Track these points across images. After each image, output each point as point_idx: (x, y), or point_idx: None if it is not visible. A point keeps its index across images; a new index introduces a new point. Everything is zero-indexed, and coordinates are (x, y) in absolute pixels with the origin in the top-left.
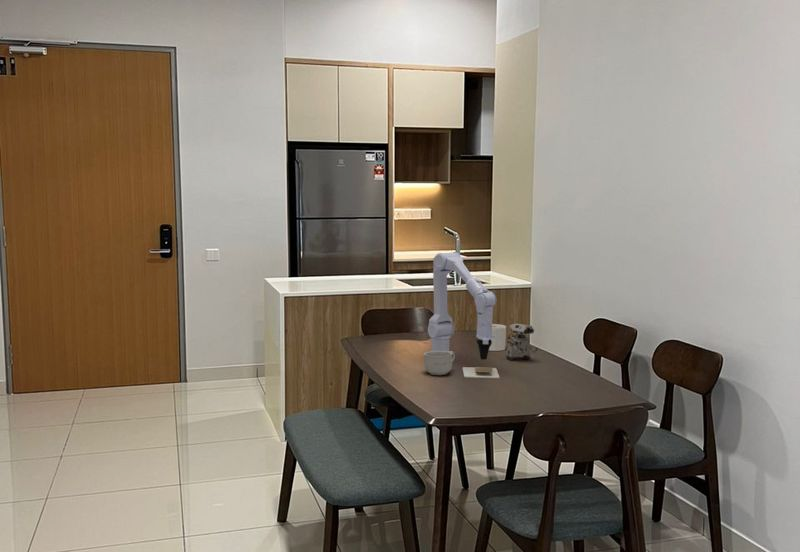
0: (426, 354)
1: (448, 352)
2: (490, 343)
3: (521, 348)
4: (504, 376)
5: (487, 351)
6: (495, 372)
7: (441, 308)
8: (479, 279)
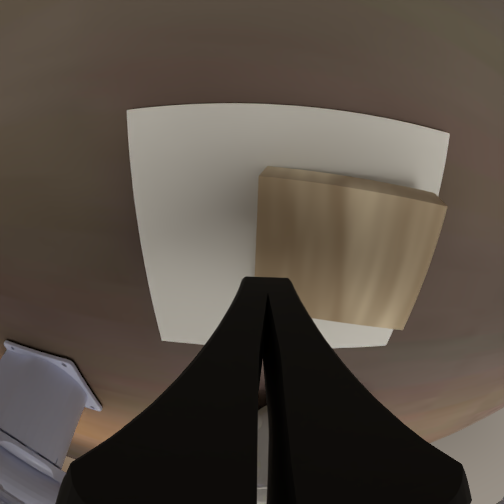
0: (261, 496)
1: (259, 486)
2: (465, 492)
3: None
4: (390, 70)
5: (334, 361)
6: (297, 126)
7: None
8: None
